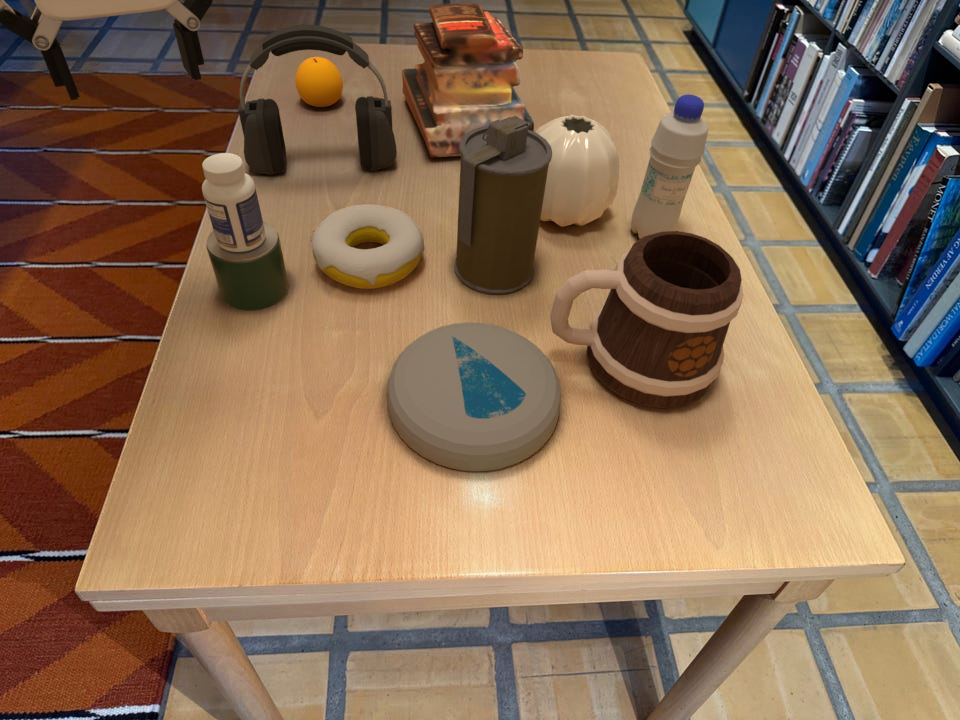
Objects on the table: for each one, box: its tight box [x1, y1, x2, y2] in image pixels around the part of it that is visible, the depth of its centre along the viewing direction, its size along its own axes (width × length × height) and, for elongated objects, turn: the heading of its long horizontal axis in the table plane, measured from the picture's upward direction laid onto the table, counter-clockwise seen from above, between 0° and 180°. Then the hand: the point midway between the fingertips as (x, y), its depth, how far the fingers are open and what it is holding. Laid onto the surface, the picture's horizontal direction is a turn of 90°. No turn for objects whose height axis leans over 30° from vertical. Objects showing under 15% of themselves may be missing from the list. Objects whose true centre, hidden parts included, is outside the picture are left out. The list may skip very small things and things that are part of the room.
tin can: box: [206, 220, 290, 311], centre depth 77 cm, size 8×8×8 cm
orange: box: [294, 56, 344, 108], centre depth 110 cm, size 8×8×8 cm
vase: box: [535, 114, 620, 228], centre depth 90 cm, size 14×14×13 cm
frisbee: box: [386, 321, 562, 472], centre depth 68 cm, size 18×18×5 cm
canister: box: [453, 116, 552, 295], centre depth 77 cm, size 11×10×20 cm
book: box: [401, 2, 535, 159], centre depth 104 cm, size 23×18×17 cm
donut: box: [311, 203, 425, 290], centre depth 82 cm, size 14×14×5 cm
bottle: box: [630, 93, 709, 240], centre depth 85 cm, size 7×7×20 cm
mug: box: [549, 230, 744, 409], centre depth 69 cm, size 20×15×15 cm
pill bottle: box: [201, 152, 266, 252], centre depth 70 cm, size 5×5×10 cm
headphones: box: [237, 23, 398, 176], centre depth 92 cm, size 22×6×20 cm, turn 100°
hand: (134, 83), depth 55 cm, fingers open, 9 cm apart
